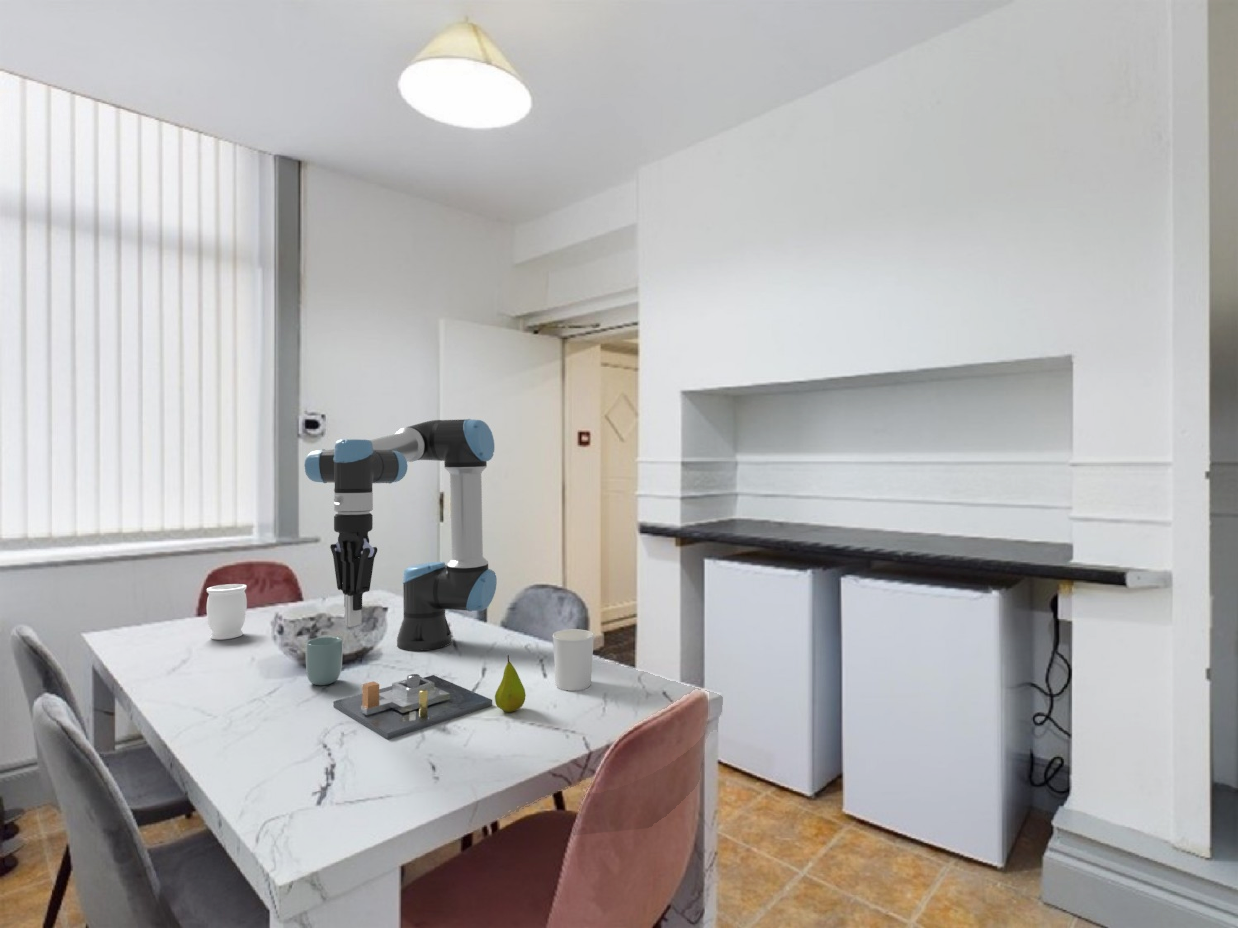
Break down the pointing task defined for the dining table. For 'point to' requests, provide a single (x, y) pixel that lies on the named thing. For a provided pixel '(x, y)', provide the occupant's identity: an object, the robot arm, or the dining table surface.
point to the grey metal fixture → (399, 696)
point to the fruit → (510, 690)
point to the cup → (323, 660)
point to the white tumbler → (573, 659)
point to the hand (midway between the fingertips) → (353, 624)
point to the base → (401, 723)
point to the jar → (226, 610)
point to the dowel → (422, 703)
